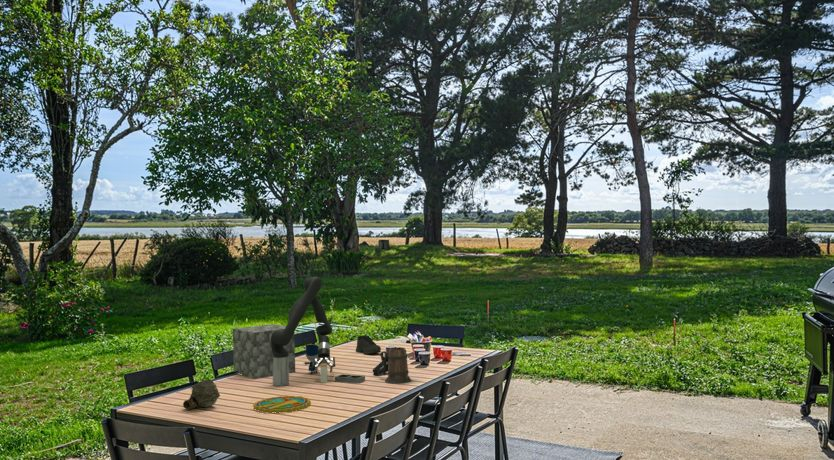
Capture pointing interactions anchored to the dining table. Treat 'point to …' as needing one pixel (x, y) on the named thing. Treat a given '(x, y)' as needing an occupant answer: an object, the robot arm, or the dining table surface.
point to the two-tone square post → (323, 372)
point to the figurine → (311, 355)
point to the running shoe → (367, 345)
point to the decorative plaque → (282, 404)
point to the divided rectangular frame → (349, 378)
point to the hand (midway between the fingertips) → (323, 372)
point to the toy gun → (380, 367)
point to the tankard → (395, 366)
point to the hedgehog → (202, 395)
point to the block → (258, 351)
